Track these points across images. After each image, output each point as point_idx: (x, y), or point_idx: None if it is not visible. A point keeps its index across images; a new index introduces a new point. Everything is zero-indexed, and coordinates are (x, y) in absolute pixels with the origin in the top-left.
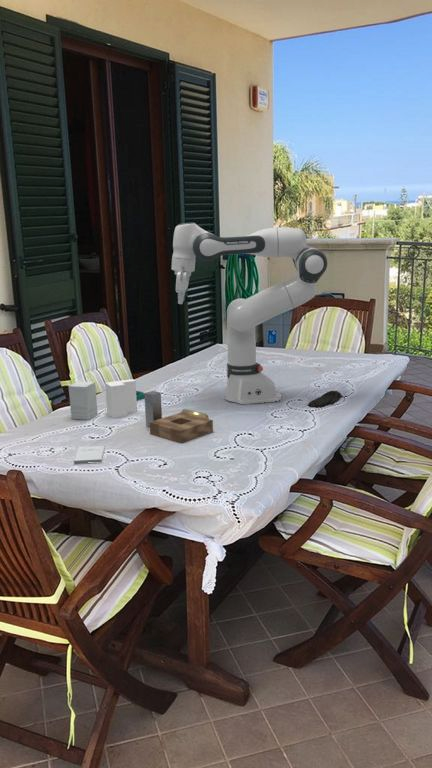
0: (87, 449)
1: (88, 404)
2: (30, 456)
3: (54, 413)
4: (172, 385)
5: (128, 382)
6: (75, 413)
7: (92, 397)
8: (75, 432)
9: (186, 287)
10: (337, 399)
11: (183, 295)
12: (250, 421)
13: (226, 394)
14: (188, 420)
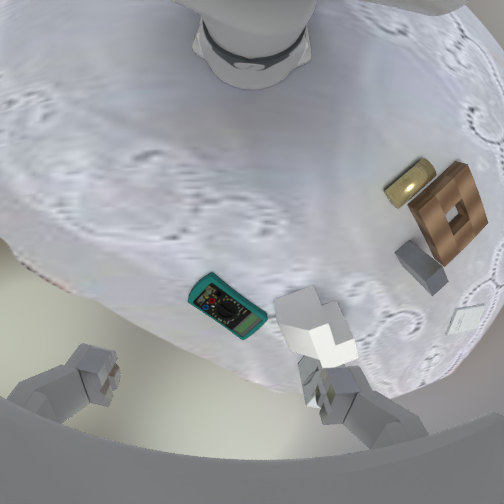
0: (457, 325)
1: (342, 366)
2: (436, 368)
3: (286, 391)
4: (106, 215)
5: (331, 334)
6: None
7: None
8: (386, 352)
9: (293, 499)
10: None
11: (73, 380)
12: (422, 82)
13: (259, 83)
14: (455, 203)
